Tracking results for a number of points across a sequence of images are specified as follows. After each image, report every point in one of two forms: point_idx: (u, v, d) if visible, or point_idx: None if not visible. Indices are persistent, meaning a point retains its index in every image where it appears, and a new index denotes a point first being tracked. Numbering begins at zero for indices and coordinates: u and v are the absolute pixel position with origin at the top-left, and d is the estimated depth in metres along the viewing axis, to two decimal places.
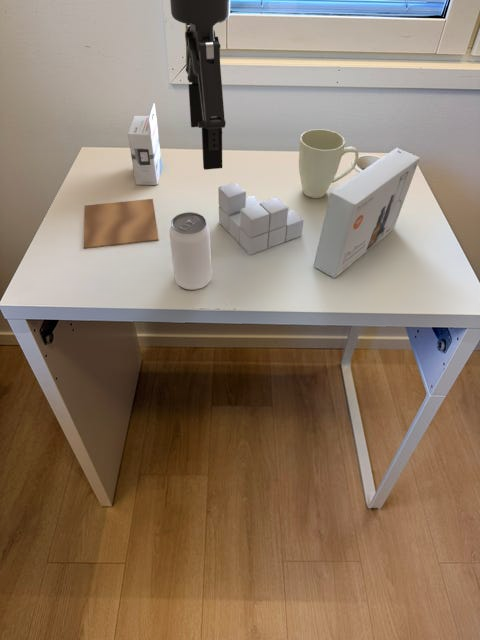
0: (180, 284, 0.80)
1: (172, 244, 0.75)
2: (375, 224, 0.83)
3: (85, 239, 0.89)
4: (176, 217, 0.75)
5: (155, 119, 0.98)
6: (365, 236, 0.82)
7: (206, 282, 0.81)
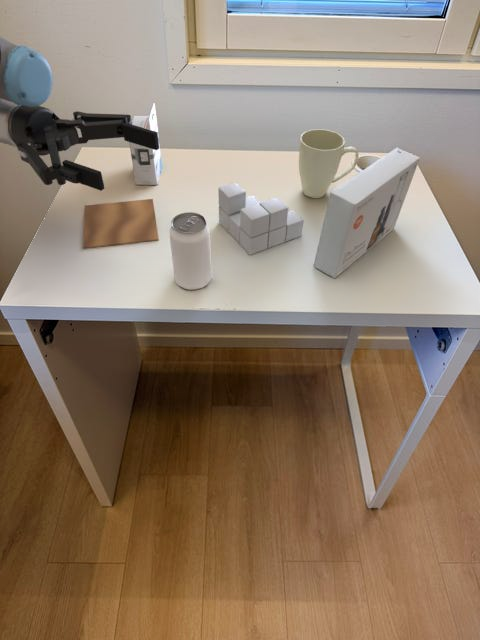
0: (180, 284, 0.80)
1: (172, 244, 0.75)
2: (375, 224, 0.83)
3: (85, 239, 0.89)
4: (176, 217, 0.75)
5: (155, 119, 0.98)
6: (365, 236, 0.82)
7: (206, 282, 0.81)
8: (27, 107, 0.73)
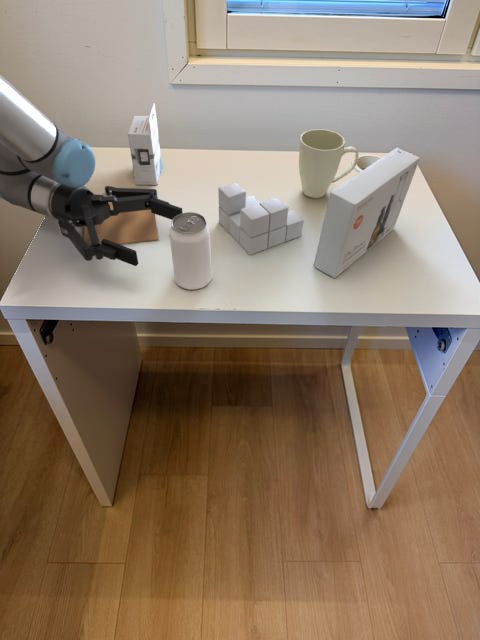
0: (180, 284, 0.80)
1: (172, 244, 0.75)
2: (375, 224, 0.83)
3: (85, 239, 0.89)
4: (176, 217, 0.75)
5: (155, 119, 0.98)
6: (365, 236, 0.82)
7: (206, 282, 0.81)
8: (66, 186, 0.83)
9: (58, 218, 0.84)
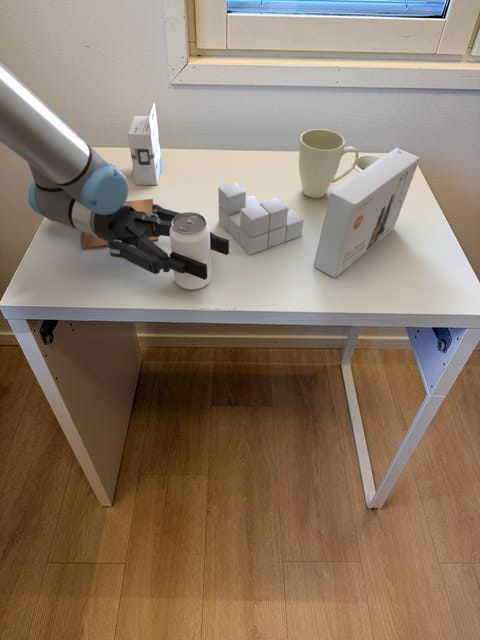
0: (180, 284, 0.80)
1: (172, 244, 0.75)
2: (375, 224, 0.83)
3: (85, 239, 0.89)
4: (176, 217, 0.75)
5: (155, 119, 0.98)
6: (365, 236, 0.82)
7: (206, 282, 0.81)
8: None
9: (100, 236, 0.81)
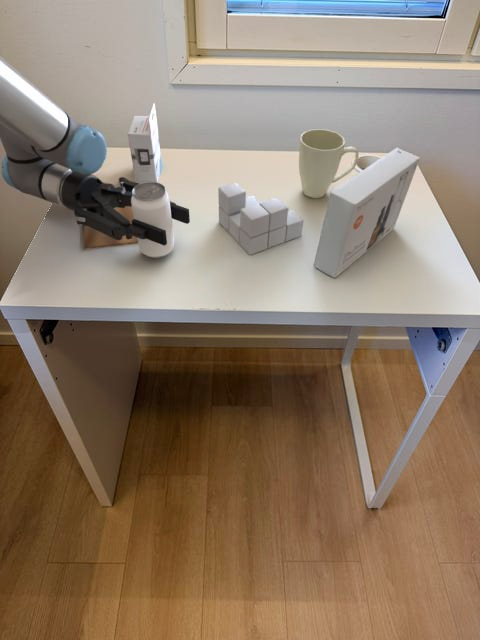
0: (143, 252, 0.84)
1: (133, 211, 0.79)
2: (375, 224, 0.83)
3: (85, 239, 0.89)
4: (137, 186, 0.79)
5: (155, 119, 0.98)
6: (365, 236, 0.82)
7: (169, 250, 0.85)
8: (76, 175, 0.84)
9: (68, 206, 0.86)
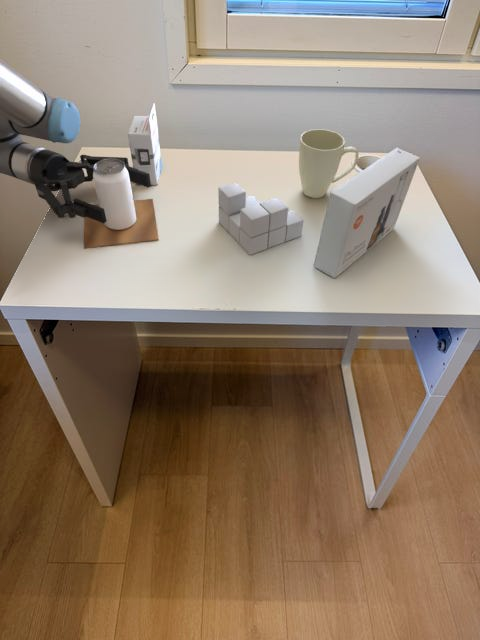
0: (107, 225, 0.91)
1: (95, 186, 0.85)
2: (375, 224, 0.83)
3: (85, 239, 0.89)
4: (99, 162, 0.85)
5: (155, 119, 0.98)
6: (365, 236, 0.82)
7: (130, 223, 0.91)
8: (43, 153, 0.90)
9: (36, 183, 0.92)
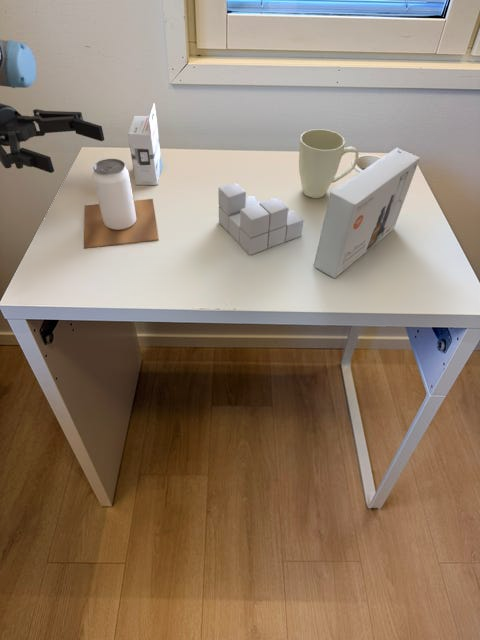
0: (107, 225, 0.91)
1: (95, 186, 0.85)
2: (375, 224, 0.83)
3: (85, 239, 0.89)
4: (99, 162, 0.85)
5: (155, 119, 0.98)
6: (365, 236, 0.82)
7: (130, 223, 0.91)
8: None
9: None
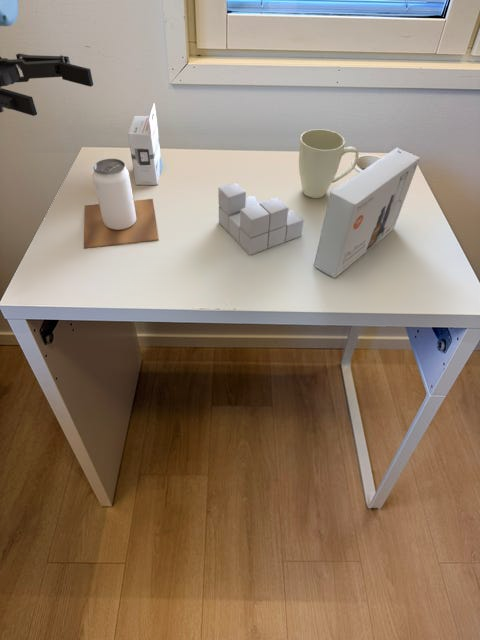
0: (107, 225, 0.91)
1: (95, 186, 0.85)
2: (375, 224, 0.83)
3: (85, 239, 0.89)
4: (99, 162, 0.85)
5: (155, 119, 0.98)
6: (365, 236, 0.82)
7: (130, 223, 0.91)
8: None
9: None
